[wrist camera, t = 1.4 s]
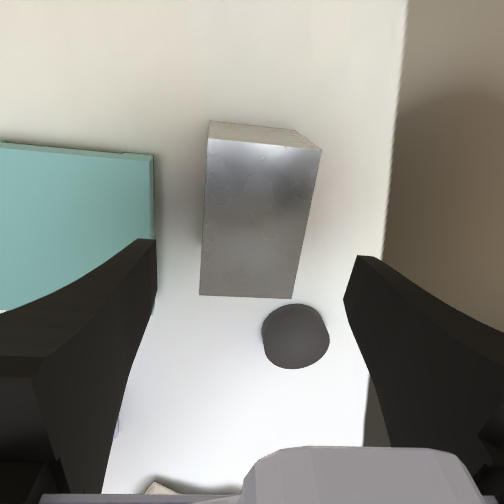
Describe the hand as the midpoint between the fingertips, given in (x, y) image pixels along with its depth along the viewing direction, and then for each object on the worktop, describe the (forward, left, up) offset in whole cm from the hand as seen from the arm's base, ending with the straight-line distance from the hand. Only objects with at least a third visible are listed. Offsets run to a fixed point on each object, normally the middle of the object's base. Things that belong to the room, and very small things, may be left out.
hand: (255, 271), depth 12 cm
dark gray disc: (-11, -6, -11) cm, 17 cm away
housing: (0, -1, -11) cm, 11 cm away
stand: (-3, +10, -10) cm, 15 cm away
